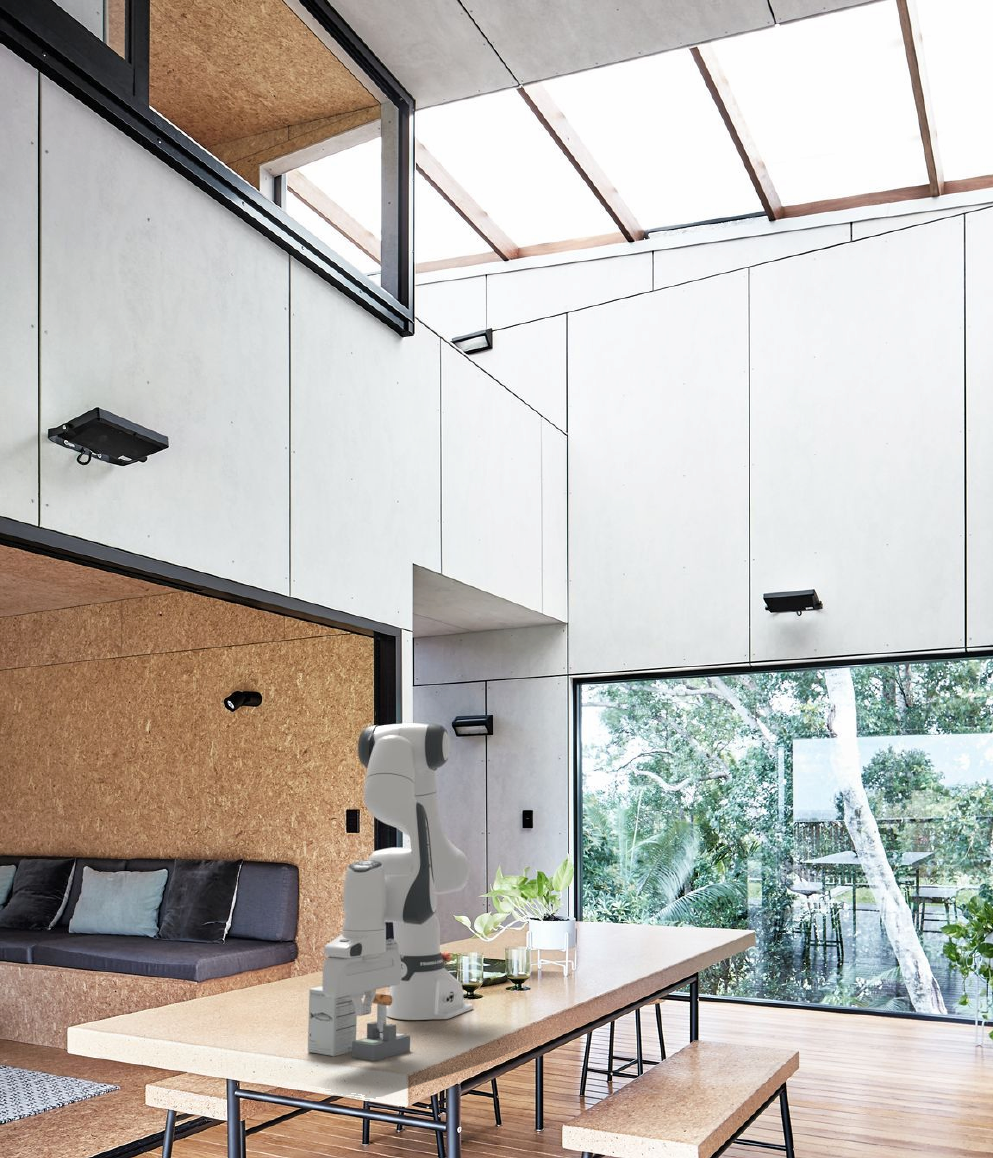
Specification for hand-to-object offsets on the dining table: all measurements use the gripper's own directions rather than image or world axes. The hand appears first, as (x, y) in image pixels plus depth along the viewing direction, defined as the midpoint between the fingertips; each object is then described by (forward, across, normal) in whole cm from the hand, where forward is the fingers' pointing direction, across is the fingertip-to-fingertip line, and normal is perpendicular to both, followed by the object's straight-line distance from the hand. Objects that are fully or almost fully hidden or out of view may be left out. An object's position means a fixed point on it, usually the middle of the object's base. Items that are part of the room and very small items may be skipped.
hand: (363, 1014), depth 230 cm
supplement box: (+9, -2, -10) cm, 13 cm away
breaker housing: (+8, -6, 0) cm, 10 cm away
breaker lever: (+4, -6, 0) cm, 7 cm away
